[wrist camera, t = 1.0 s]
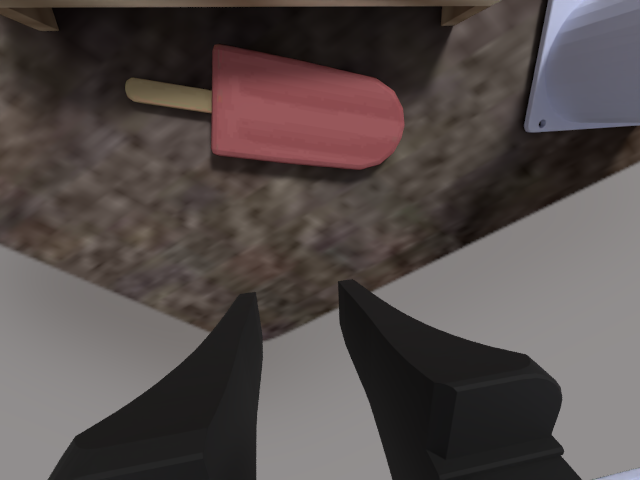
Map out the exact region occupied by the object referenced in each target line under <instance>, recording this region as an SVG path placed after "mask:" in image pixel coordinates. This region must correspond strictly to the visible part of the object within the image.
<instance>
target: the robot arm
mask: <svg viewBox="0 0 640 480" xmlns="http://www.w3.org/2000/svg"><path fill="white" fill-rule="evenodd" d="M540 121H541V124H540V126H539V122H540ZM636 125H640V0H548V4H547V9H546V15H545V20H544V25H543V30H542V35H541V40H540V46H539V51H538V56H537V61H536V66H535V72H534V77H533V82H532V87H531V92H530V97H529V103H528V108H527V113H526V118H525V123H524V129H525V131H526V132H547V131H562V130H577V129H592V128H606V127H621V126H636ZM338 290H339V319H340V326H341V330H342V334H343V337H344V341H345V344H346V347H347V349H348V351H349V354H350V357H351V359H352V361H353V364H354V366H355V368H356V371H357V373H358V375H359V378H360V380H361V383H362V385H363V387H364V389H365V392H366V394H367V397H368V400H369V403H370V406H371V409H372V412H373V415H374V418H375V422H376V425H377V428H378V431H379V435H380V438H381V442H382V445H383V448H384V451H385V455H386V458H387V462H388V466H389V469H390V473H391V476H392V480H581V478H580V477H579V476H578V475H577V474H576V472H575V471H574V470H573V469H572V468H571V467H570V466H569V465H568V463H567V462H566V461H565V460H564V459H563V458H562V457H561V456H560V455H563V453H564V449H563V447H562V446H561V445H560V444H559V443H558V442H557V440H555V438H554V437H553V436H552V435H551V434H552V431H553V428H554V425H555V422H556V420H557V417H558V414H559V411H560V408H561V403H562V394H561V388H560V386H559V384H558V383H557V382H556V380H555V379H554V378H552V377H551V376H550V375H549V374H548V373H547V372H546V371H544V370H543V369H542V368H541V367H540V366H539V365H538V364H537V363H536V362H534V361H533V360H532V359H531V358H530V357H529V356H527V355H526V354H521V353H517V352H512V351H508V350H504V349H499V348H494V347H490V346H487V345H483V344H480V343H476V342H473V341H469V340H466V339H463V338H460V337H457V336H454V335H451V334H449V333H446V332H444V331H441V330H438V329H436V328H433V327H431V326H429V325H426V324H424V323H422V322H420V321H418V320H416V319H414V318H412V317H410V316H408V315H406V314H404V313H402V312H401V311H399V310H397V309H396V308H394V307H392V306H391V305H389V304H388V303H386V302H384V301H383V300H381V299H380V298H378V297H377V296H376V295H374V294H373V293H371V292H370V291H368V290H367V289H366V288H364V287H363V286H362V285H360V284H359V283H357V282H356V281H355V280H353V279H352V280H344V281H338ZM262 360H263V345H262V330H261V323H260V317H259V310H258V304H257V297H256V292H252V293H245V294H240V295H239V296H238V297H237V298H236V300H235V301H234V303H233V304H232V305H231V307H230V308H229V310H228V311H227V313H226V314H225V315H224V317H223V318H222V319H221V321H220V322H219V323H218V324H217V326H216V327H215V328H214V329H213V331H212V332H211V333H210V334H209V335H208V336H207V338H206V339H205V340H204V341H203V342H202V343H201V345H200V346H199V347H198V348H197V349H196V350H195V351H194V352H193V353H192V354H191V355H190V356H188V357H187V358H186V359H185V360H184V361H183V362H182V363H181V364H180V365H179V366H177V367H176V368H175V369H174V370H172V371H171V372H170V373H169V374H168V375H166V376H165V377H164V378H163V379H162V380H160V381H159V382H158V383H157V384H155V385H154V386H153V387H152V388H150V389H149V390H147V391H146V392H144V393H143V394H142V395H140V396H139V397H137V398H136V399H134V400H133V401H132V402H130V403H129V404H127V405H126V406H124V407H123V408H121V409H120V410H118V411H117V412H115V413H113V414H112V415H110V416H109V417H107V418H105V419H103V420H102V421H100V422H99V423H97V424H95V425H94V426H92V427H91V428H89V429H87V430H85V431H84V432H82V433H81V434H79V435H77V436H75V438H74V439H73V441H72V442H71V444H70V445H69V447H68V448H67V450H66V451H65V453H64V454H63V456H62V457H61V459H60V460H59V462H58V464H57V465H56V467H55V469H54V470H53V472H52V474H51V475H50V477H49V478H48V480H256V424H257V410H258V400H259V389H260V381H261V371H262ZM592 480H640V468H636V469H632V470H628V471H624V472H620V473H616V474H613V475H608V476H604V477H600V478H596V479H592Z"/></svg>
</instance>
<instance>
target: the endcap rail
mask: <svg viewBox="0 0 640 480" xmlns="http://www.w3.org/2000/svg"><path fill="white" fill-rule="evenodd" d="M499 1H501V0H0V15H3V16H5V17H8V18H10V19H12V20H15V21H17V22H20V23H22V24H24V25H27V26H29V27H32V28H34V29H37V30H39V31H59V29H58V26H57V22H56V19H55V16H54V13H53V10H52V7H318V6H442V16H441V26H454V25H456V24H458V23H460V22H462V21H464V20H465V19H467V18H469V17H471V16H473V15H475V14H477V13H479V12H481V11H482V10H484V9H486V8H488V7H490V6H492V5H494V4H496V3H497V2H499Z"/></svg>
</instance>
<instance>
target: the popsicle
mask: <svg viewBox="0 0 640 480" xmlns="http://www.w3.org/2000/svg"><path fill="white" fill-rule="evenodd" d="M125 91H126V94H127V96H128V97H129V98H130V99H131V100H132V101H134V102H138V103H145V104H152V105H158V106H165V107H172V108H178V109H185V110H192V111H198V112H205V113H212V131H211V149H212V152H213V153H214V154H216V155H218V156H227V157H236V158H244V159H253V160H261V161H270V162H279V163H288V164H299V165H310V166H321V167H332V168H343V169H354V170H361V169H365V168H369V167H372V166H376V165H380V164H381V163H382V162H383V161H384V160H385V159H387V158H388V157H389V156H390V155H391V154H392V153H393V152H394V151H395V149H396V147H397V145H398V143H399V142H400V140H401V138H402V133H403V129H404V115H403V108H402V106H401V104H400V102H399V100H398V98H397V96H396V94H395V92H394V90H392V89H391V88H389V87H388V86H387V85H385V84H384V83H382V82H381V81H380V80H378V79H377V78H374V77H370V76H366V75H361V74H357V73H353V72H348V71H344V70H340V69H336V68H331V67H327V66H323V65H318V64H314V63H310V62H306V61H301V60H297V59H292V58H287V57H282V56H278V55H273V54H268V53H263V52H258V51H253V50H248V49H243V48H238V47H233V46H228V45H224V44H216V45H214V47H213V50H212V90H206V89H200V88H194V87H188V86H182V85H176V84H170V83H164V82H158V81H152V80H145V79H139V78H133V77H132V78H130V79H128V80H127V81H126V84H125Z"/></svg>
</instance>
